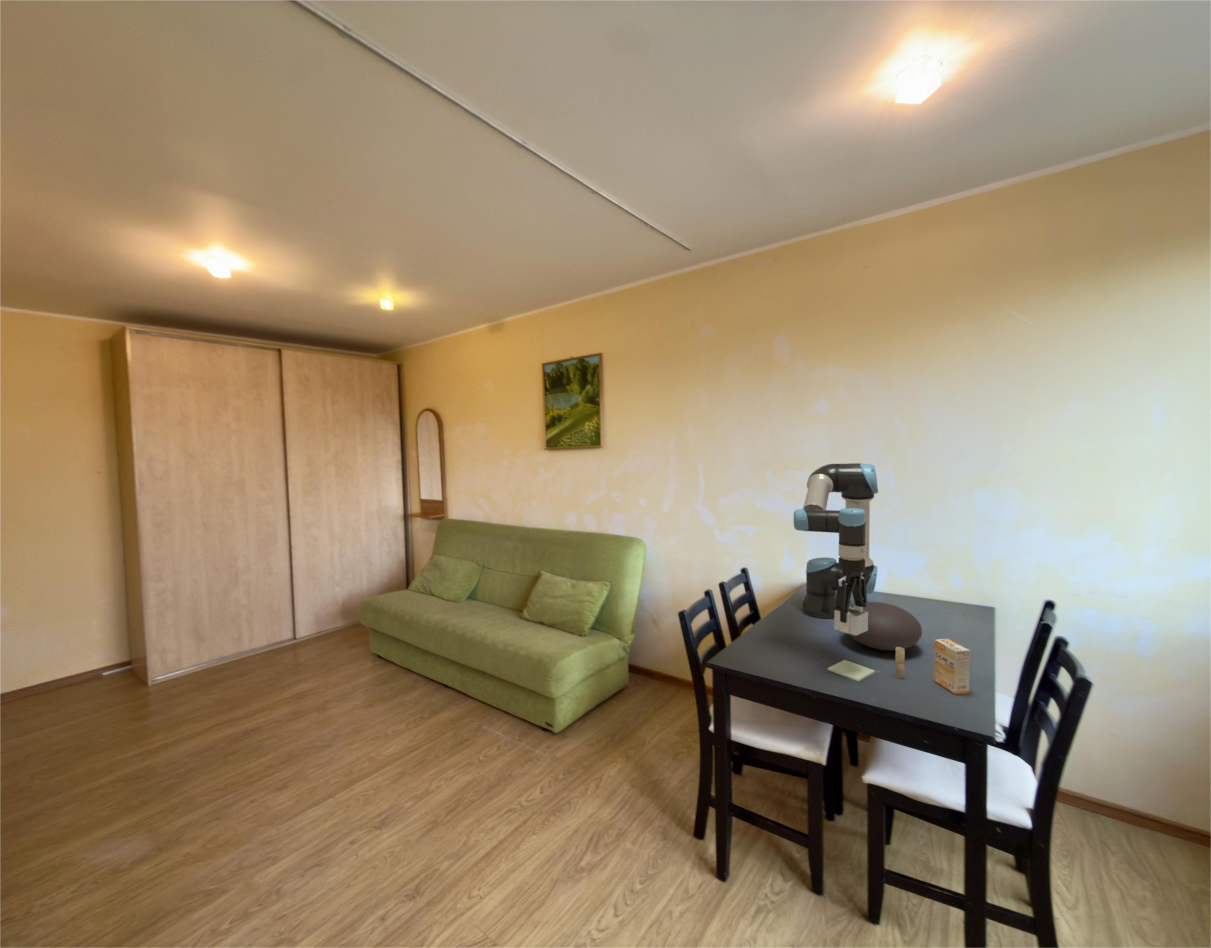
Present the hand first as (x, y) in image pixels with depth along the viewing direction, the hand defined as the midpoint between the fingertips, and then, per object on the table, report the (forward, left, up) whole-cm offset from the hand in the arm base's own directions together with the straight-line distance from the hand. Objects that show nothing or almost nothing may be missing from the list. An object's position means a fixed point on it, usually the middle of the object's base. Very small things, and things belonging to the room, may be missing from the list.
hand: (851, 628), depth 155 cm
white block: (0, 0, 0) cm, 0 cm away
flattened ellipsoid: (-4, +27, -14) cm, 31 cm away
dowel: (+11, +8, -14) cm, 19 cm away
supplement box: (+23, +13, -14) cm, 30 cm away
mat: (0, 0, -14) cm, 14 cm away
